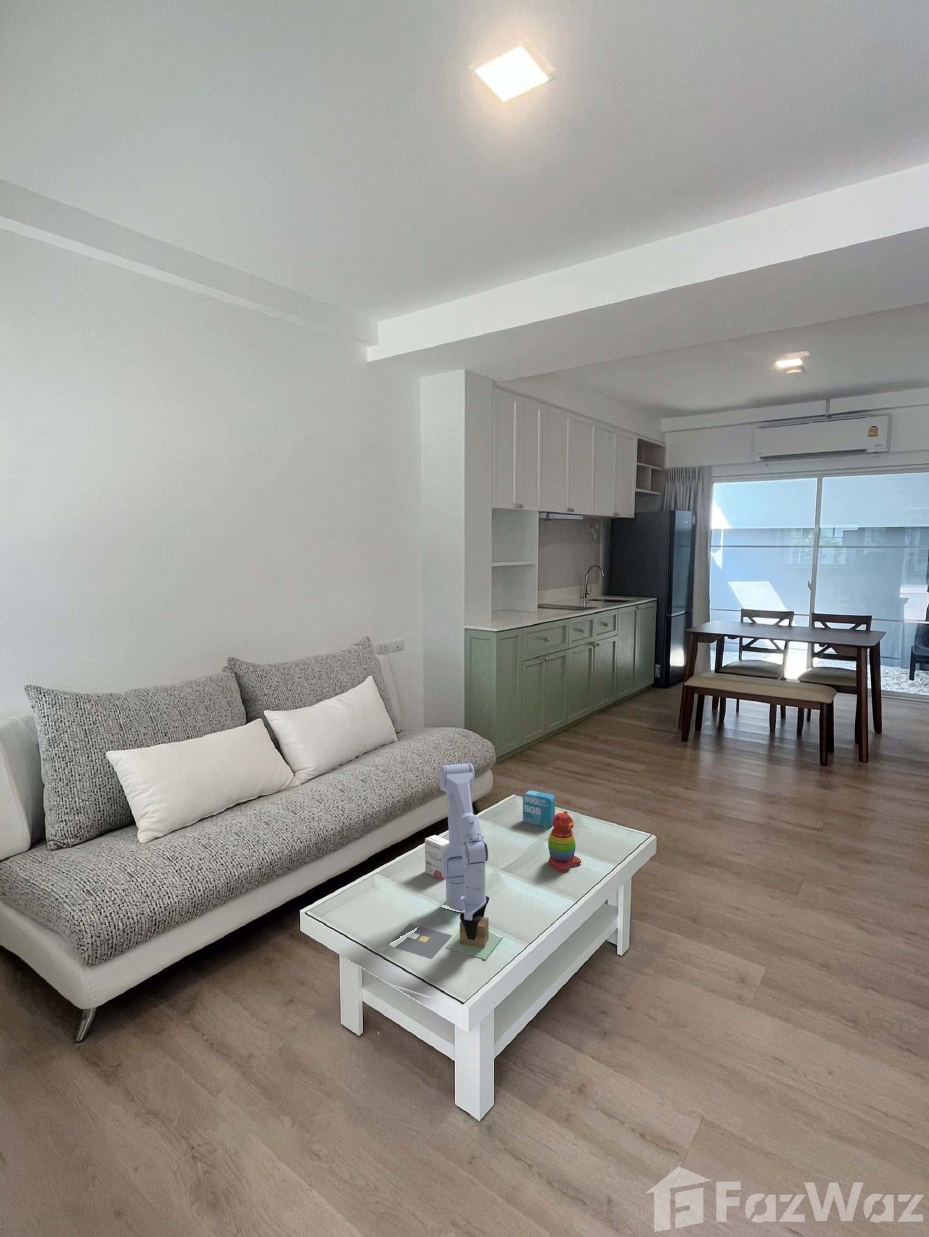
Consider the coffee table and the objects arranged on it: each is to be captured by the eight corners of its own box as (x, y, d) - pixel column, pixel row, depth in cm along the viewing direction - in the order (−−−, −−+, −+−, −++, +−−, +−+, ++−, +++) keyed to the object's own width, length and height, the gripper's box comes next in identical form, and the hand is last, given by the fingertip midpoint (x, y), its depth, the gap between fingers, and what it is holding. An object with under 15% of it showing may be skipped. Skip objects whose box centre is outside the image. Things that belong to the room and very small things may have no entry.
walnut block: (464, 934, 186) (464, 914, 185) (488, 938, 184) (488, 917, 184) (459, 943, 182) (459, 923, 181) (484, 947, 180) (484, 926, 179)
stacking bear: (563, 873, 221) (564, 822, 219) (540, 863, 229) (541, 813, 227) (584, 863, 228) (584, 813, 227) (561, 853, 236) (561, 805, 234)
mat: (465, 926, 191) (465, 924, 191) (503, 936, 186) (503, 935, 186) (445, 948, 180) (445, 947, 180) (485, 960, 175) (485, 959, 175)
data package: (522, 822, 263) (522, 793, 262) (527, 818, 267) (527, 789, 266) (550, 828, 257) (550, 798, 256) (555, 824, 261) (555, 794, 260)
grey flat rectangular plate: (409, 923, 192) (409, 923, 192) (452, 936, 186) (452, 935, 186) (387, 946, 182) (387, 945, 182) (431, 959, 175) (431, 959, 175)
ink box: (452, 874, 221) (452, 841, 220) (442, 880, 217) (441, 846, 216) (434, 866, 227) (434, 833, 226) (424, 871, 223) (423, 838, 222)
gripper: (467, 869, 189) (468, 914, 191) (453, 895, 175) (453, 943, 177) (491, 872, 187) (491, 918, 189) (479, 898, 173) (479, 947, 175)
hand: (475, 930), depth 183 cm, fingers open, 7 cm apart
